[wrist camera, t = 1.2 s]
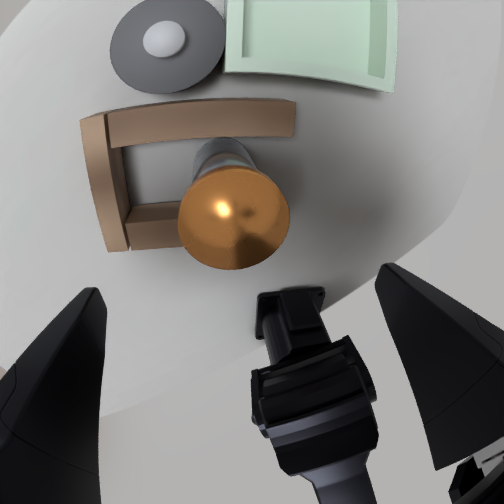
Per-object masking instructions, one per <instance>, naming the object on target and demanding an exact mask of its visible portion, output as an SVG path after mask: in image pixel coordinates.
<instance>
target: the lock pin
mask: <svg viewBox="0 0 504 504" xmlns="http://www.w3.org/2000/svg"><path fill="white" fill-rule="evenodd" d="M289 222H290V215H289V208H288V204H287V202H286V200H285V198H284V196H283V194H282V193H281V191H280V190H279V188H278V187H277V185H276V184H275V183H274V181H273V180H272V179H271V178H269V177H268V176H267V175H266V174H264V173H263V172H261V171H259V170H257V168H256V166H255V165H254V163H253V161H252V159H251V158H250V156H249V154H248V152H247V151H246V149H245V148H244V147H243V146H242V145H241V144H240V143H238V142H237V141H235V140H232V139H228V138H218V139H214V140H211V141H209V142H207V143H206V144H205V145H203V146H202V147H201V149H200V150H199V151H198V153H197V155H196V158H195V162H194V170H193V178H192V184H191V185H190V186H189V187H188V189H187V190H186V192H185V194H184V196H183V198H182V200H181V204H180V208H179V215H178V232H179V236H180V239H181V242H182V244H183V245H184V247H185V248H186V250H187V251H188V252H189V253H190V254H191V255H192V256H193V257H194V258H195V259H197V260H198V261H200V262H201V263H203V264H205V265H208V266H210V267H213V268H218V269H224V270H236V269H243V268H247V267H250V266H253V265H256V264H258V263H260V262H262V261H264V260H265V259H267V258H268V257H269V256H271V255H272V254H273V253H274V252H275V251H276V250H277V249H278V248H279V246H280V245H281V244H282V242H283V241H284V239H285V237H286V234H287V231H288V228H289Z"/></svg>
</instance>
